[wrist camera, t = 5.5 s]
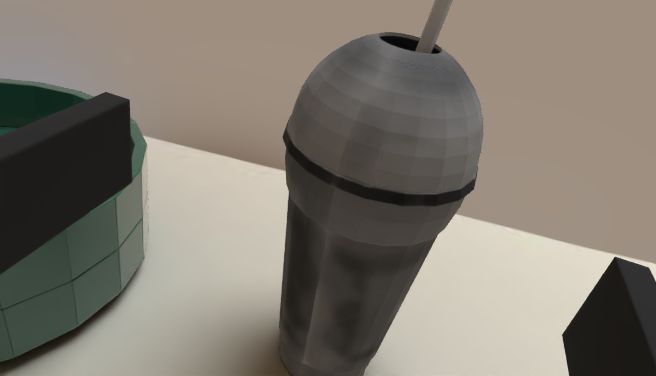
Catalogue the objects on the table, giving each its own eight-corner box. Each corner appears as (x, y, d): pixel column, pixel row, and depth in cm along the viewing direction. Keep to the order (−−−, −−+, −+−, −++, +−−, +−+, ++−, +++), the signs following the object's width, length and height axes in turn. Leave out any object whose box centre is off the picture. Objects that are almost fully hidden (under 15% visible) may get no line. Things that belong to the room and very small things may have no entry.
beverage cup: (234, 308, 24) (288, -157, 14) (355, 286, 28) (474, -107, 17) (278, 440, 19) (420, -153, 9) (422, 394, 22) (655, -82, 12)
